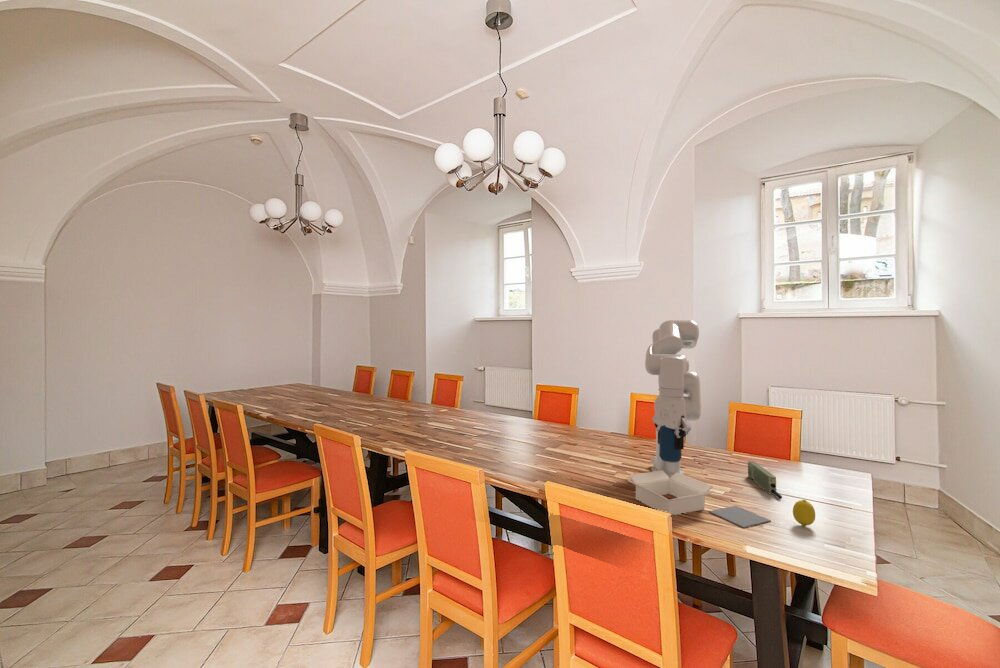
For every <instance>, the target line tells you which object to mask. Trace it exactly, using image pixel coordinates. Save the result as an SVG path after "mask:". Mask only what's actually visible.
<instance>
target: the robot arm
mask: <svg viewBox="0 0 1000 668" xmlns="http://www.w3.org/2000/svg"><path fill="white" fill-rule="evenodd" d="M651 336H652V339H651V340H652V343H651V344H650V345H649V346H648V347H647V350H646V353H645V365H644V366H645V370H646V372H647V373H648V374H649V375H651V376H657V378H658V379H657V381H658V382H657V383H658V391H659V392H658V395H657V397H656V398H655V399H654V403H653V405H654V408H653V409H654V416H653V417H652V418H651V420H652V422H653V424H654V426H655V456H653V457H652V458H650V461H649V462H650V463H652V464H653V466H652V467H651V472H653V471H660V470H663V471H664V472H665V473H666V475H667V476H668V477H669V478H670V477H672V476H673V475H674V474H675V473H676V472H679V473H681V474H684V475H686V474H685V471H684V470H683V469H682V468H681V465H682V464H681V460H682V458H681V459H680V461H679V462H677V463H670V462H665V461H663V460H661V458H660V456H659V441H660V427H661V426H663V425H665V427H667V428H670V429H674V430H675V433H676V436H677V437H675V449H676V450H680V449H682V450H684V448H685V447H684V445H685V444H684V443H685V438H686V436H687V435H688V434H689V432H690V431H691V430H692V426H691V425H690V424H689V423H688V421H690V422H691V421H698V420H699V419H700V417H701V413H702V406H701V405H702V402H701V400H702V399H701V381H700V380H701V379H700V377H699V375H698V373H697V372H694V371H691V370H689V369H690V361H689V359H688V358H687V357H686V356H685V355H684V354H683V355H682V354H679V353H680V352H681V350H682V349H688V350H689V349H695V347H696V346H697V343H698V340H699V337H700V330H699V325H698V323H696V321H694V320H687V319H684V320H683V319H681V320H680V319H679V320H678V319H673V320H670V319H669V320H665V321H663V322H662V323H661V324H660V325H659V328H657V329H655V330H654V331H653V333H652V335H651ZM679 430H680V433H679Z"/></svg>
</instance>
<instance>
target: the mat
mask: <svg viewBox="0 0 1000 668" xmlns="http://www.w3.org/2000/svg"><path fill="white" fill-rule="evenodd" d="M709 514H712V515H715V516H717V517H719V518H720V517H721V518H720V519H723V520H725V521H727V522H729V523H731V522H732V524H733V523H734V524H733V525H736V526H738V527H740V526H741V527H740V528H742V527H743V528H742V529H745V528H744V527H746V528H749V526H751V527H754V526H753V525H755V526H759V525H762V523H763V524H767V523H770V522H771V521H772V519H769V518H767V517H764V516H763V515H759V514H757V513H755V512H752V511H750V510H747V509H745V508H742V507H741V506H737V505H732V506H727V507H722V508H719V509H718V508H717V509H713V510H709ZM766 522H767V523H766ZM758 524H759V525H758Z"/></svg>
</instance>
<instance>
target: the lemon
mask: <svg viewBox="0 0 1000 668" xmlns="http://www.w3.org/2000/svg"><path fill="white" fill-rule="evenodd" d="M792 515H793V518H794V520H795V521H796V522H797V523H799V524H800V525H801V527H806V526H810V525H812V524H813V523H814V522H815V520H816V510H815V507H814V506H813V504H812V503H811V502H809V501H807V500H806V499H802V500H797V501H796V502H795V503H794V504H793V507H792Z"/></svg>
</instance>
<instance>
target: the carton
mask: <svg viewBox="0 0 1000 668" xmlns="http://www.w3.org/2000/svg"><path fill="white" fill-rule="evenodd" d="M628 477H629V478H630V479H627V481H628V482H629V483H631V484H633V486H635V500H637V501H638V500H639V502H640V501H641V503H642V504H644V505H646V506H648V507H650V508H652V509H654V508H655V509H659V510H663V511H667V512H669V513H671V514H674V515H675V514H679V515H682V514H681V513H684V514H687V513H686V512H689V513H693V511H694V512H697V511H699V512H700V511H702V510H703V511H704V510H705V509H706V508H705V507H706V506H705V505H706V501H705V500H706V499H705V498H706V495H710V494H713V493H715V491H714V490H711V489H712V488H713V485H711V484H709V483H706V482H705V481H704V482H703V481H701V480H698V479H696V478H694V477H691V476H688V475H686V474H681V473H679V472H676V473H675V474H674V475H673V476H672V477H668V476H667V475H666V473H665V472H664V471H663V470H660V471H653V472H652V471H648V472H642V473H635V474H630V475H628ZM710 490H711V491H710ZM665 495H666V496H667V495H671V496H674V498H672V499H669V498H667V497H665ZM655 509H654V510H655ZM675 516H676V515H675Z"/></svg>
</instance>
